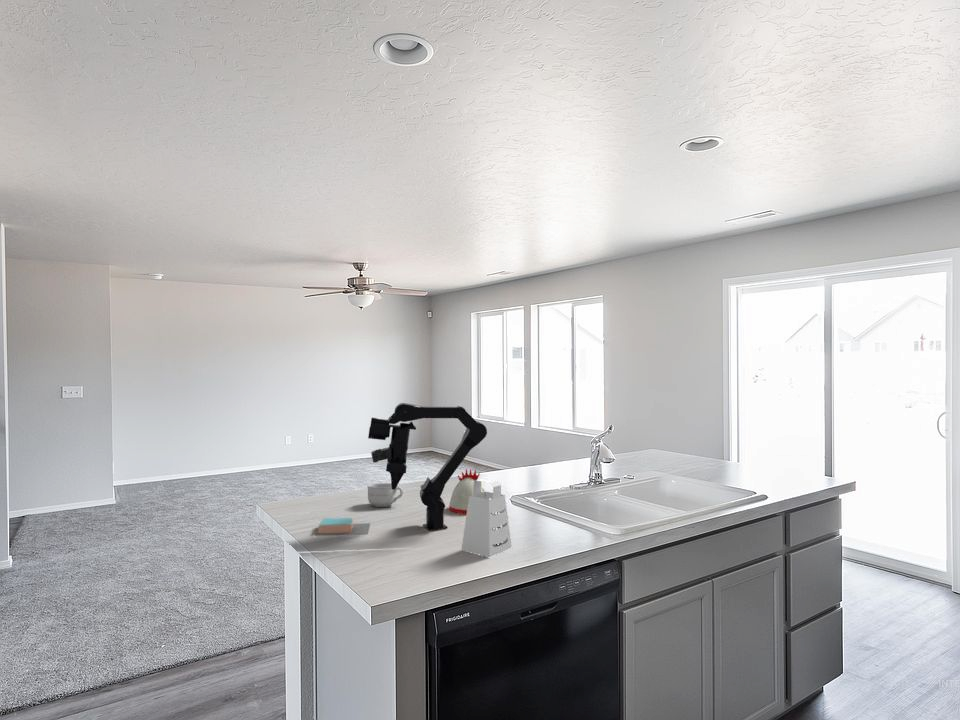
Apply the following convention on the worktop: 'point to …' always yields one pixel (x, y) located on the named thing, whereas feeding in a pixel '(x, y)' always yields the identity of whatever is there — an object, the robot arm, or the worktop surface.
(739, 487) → the worktop surface
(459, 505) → the kitchen timer
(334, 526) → the pink and teal block
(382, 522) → the worktop surface
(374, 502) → the teacup
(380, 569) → the worktop surface
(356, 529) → the mat
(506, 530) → the grater
